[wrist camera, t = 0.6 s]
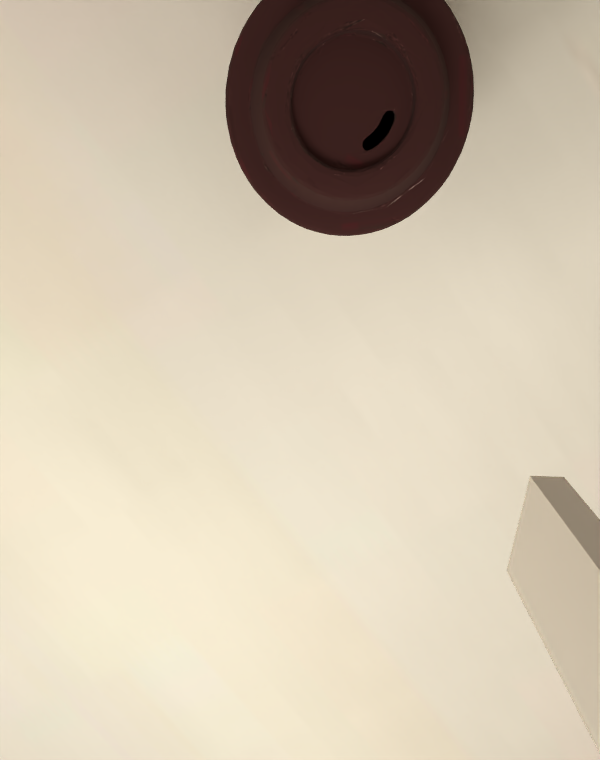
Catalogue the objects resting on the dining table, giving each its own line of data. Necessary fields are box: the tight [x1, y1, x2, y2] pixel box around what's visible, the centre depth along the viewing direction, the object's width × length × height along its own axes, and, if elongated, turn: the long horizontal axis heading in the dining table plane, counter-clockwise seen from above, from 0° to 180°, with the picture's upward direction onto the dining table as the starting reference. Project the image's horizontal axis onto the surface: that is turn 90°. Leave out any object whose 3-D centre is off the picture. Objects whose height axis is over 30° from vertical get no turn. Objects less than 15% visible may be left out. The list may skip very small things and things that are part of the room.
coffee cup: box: [226, 0, 474, 236], centre depth 26 cm, size 10×10×15 cm
